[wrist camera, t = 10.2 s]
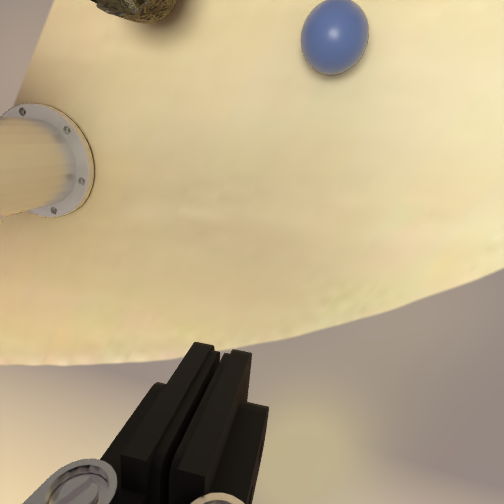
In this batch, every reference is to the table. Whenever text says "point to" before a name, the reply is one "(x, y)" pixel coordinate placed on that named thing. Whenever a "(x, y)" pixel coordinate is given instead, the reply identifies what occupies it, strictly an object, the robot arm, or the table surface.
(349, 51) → the blue ball
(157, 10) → the cup
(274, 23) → the table surface
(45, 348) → the table surface
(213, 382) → the robot arm
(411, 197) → the table surface
